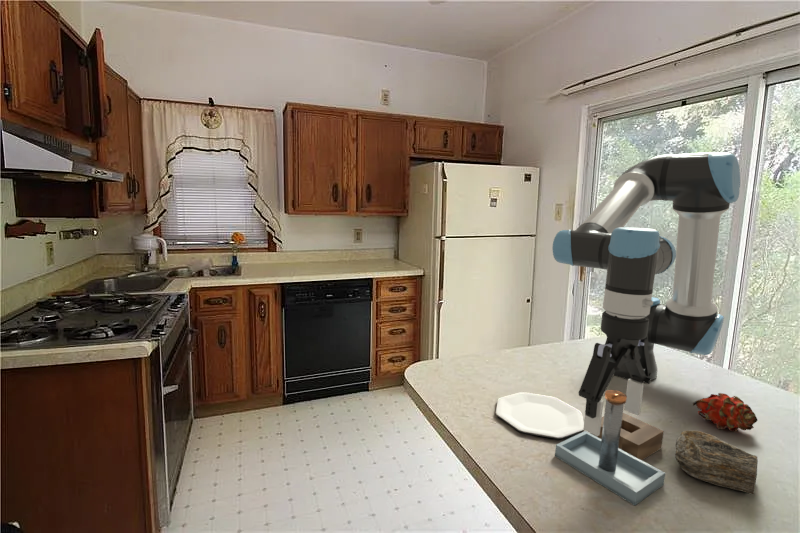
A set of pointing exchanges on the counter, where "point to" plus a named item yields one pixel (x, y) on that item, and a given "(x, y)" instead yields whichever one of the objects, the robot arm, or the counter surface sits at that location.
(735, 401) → the dragon fruit
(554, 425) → the plate
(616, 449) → the lock pin
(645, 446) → the block
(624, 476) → the tray
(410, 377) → the counter surface
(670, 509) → the counter surface
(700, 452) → the stone
